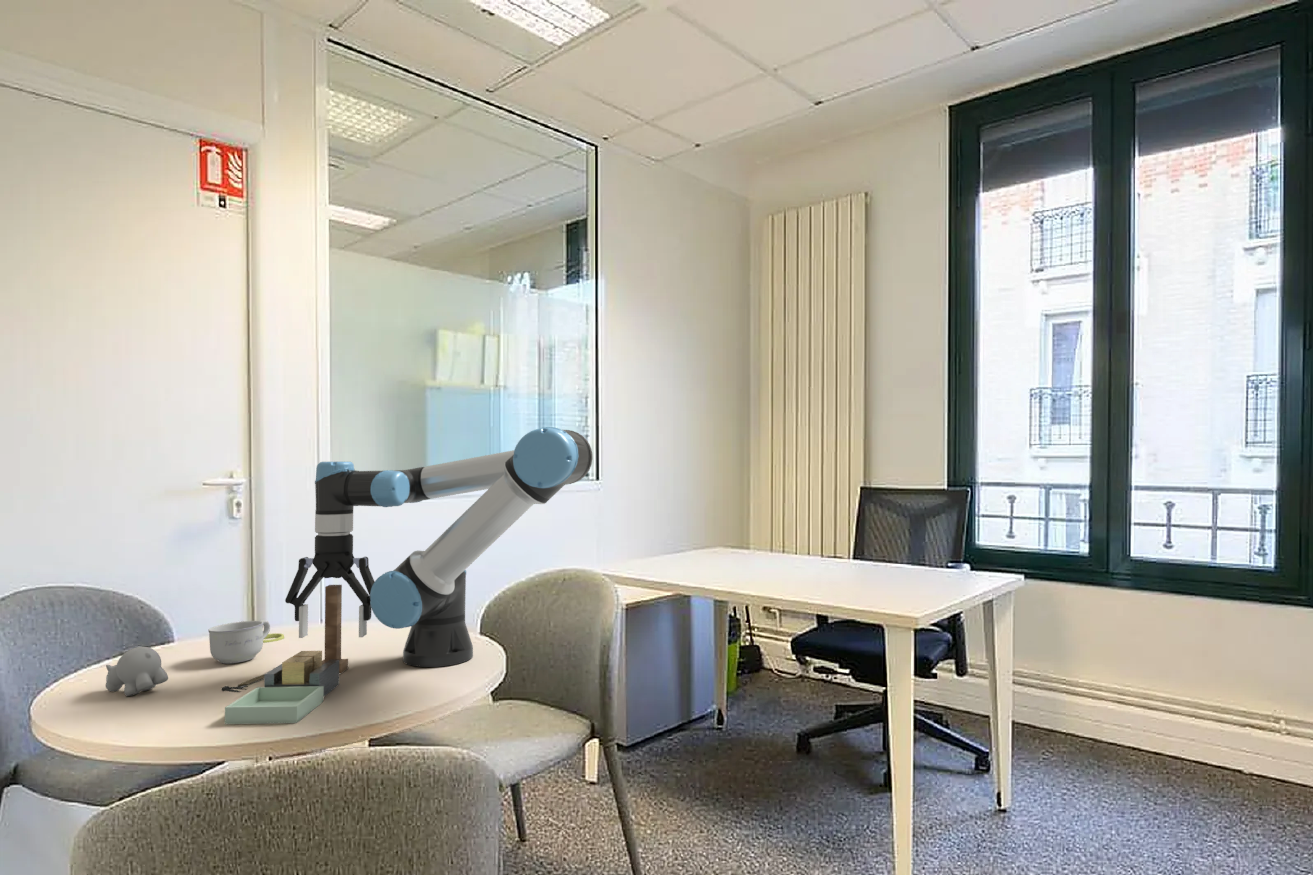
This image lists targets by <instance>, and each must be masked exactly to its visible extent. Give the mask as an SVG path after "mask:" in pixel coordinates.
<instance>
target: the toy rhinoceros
mask: <svg viewBox="0 0 1313 875" xmlns="http://www.w3.org/2000/svg"><path fill="white" fill-rule="evenodd" d="M105 667H106V669H107V674H106V676H105V678H106V679H105V680H106V682H105V688H106V690H107V691H108V692H111V691H114V692H117V691H119V690H120V689H121V688H122V687H123V686H124V687H123V688H124V689H123V693H124V695H125V697H133V696H135V695H138V694H140V693H141V692H145V691H149V690H152V689H155V687H156V686H158V685H160V684H161V685H162V684H164V683H166V682H167V681H168V680H169V675H168V674H167V671H166V670H165V668H163V667H162V658H161V656H160V654H159V652H157V651H156V650H155V649H153V648H152V647H149V646H137V647H133V648H131V649H129V650H127V651H125V652H124V653H123V654H122V655H121V656H120V658H118V660H117V663H116V664H115V665H111V664H106V665H105Z"/></svg>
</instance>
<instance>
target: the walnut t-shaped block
mask: <svg viewBox="0 0 1313 875" xmlns="http://www.w3.org/2000/svg"><path fill="white" fill-rule="evenodd" d="M324 588H325V590H324V591H325V593H324V659H322V665H323V664H325V663H326V662H327V661H329V660H330V659H339V673H341V674H343V673H344V672H345V671H347V670H348V669H349V658H342V611H343V610H342V606H343V605H342V599H343V598H342V594H343V593H342V591H343V589H342V588H343V585H342V584H329V585H326V586H325V587H324ZM347 668H348V669H347Z"/></svg>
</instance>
